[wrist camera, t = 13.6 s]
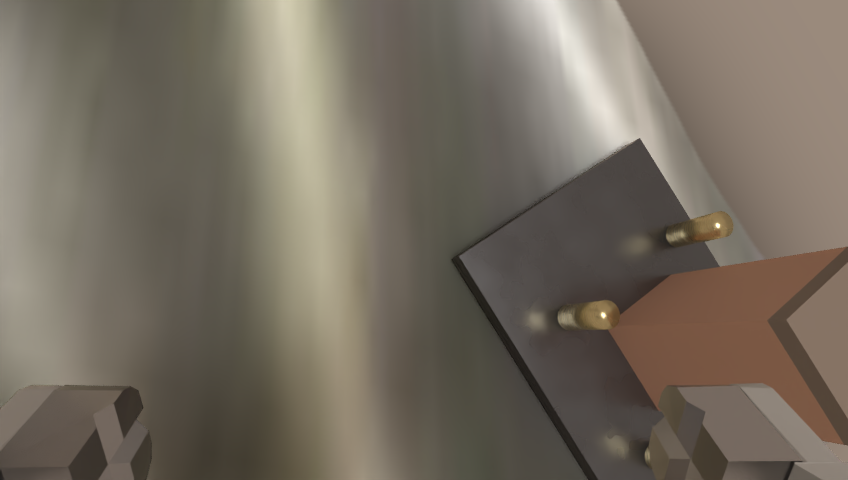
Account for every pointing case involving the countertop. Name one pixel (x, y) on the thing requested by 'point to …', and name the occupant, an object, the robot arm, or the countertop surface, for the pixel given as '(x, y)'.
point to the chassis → (589, 299)
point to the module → (750, 333)
